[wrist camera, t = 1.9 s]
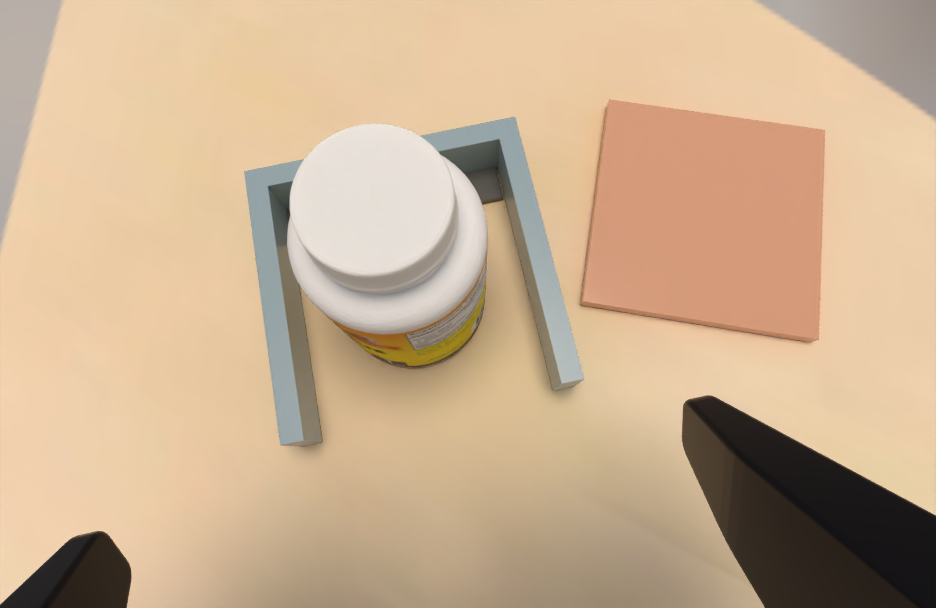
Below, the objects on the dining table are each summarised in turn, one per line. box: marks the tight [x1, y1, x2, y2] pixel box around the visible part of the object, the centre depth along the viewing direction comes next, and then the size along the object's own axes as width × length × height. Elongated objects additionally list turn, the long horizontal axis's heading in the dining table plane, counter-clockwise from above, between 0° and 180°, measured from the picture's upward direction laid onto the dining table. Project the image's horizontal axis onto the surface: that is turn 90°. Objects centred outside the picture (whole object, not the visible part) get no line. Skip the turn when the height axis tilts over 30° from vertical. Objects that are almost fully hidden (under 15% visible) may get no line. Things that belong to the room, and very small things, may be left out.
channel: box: [244, 117, 584, 446], centre depth 23 cm, size 10×11×2 cm
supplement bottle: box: [287, 124, 488, 368], centre depth 19 cm, size 6×6×10 cm
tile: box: [580, 100, 825, 342], centre depth 24 cm, size 9×9×1 cm
